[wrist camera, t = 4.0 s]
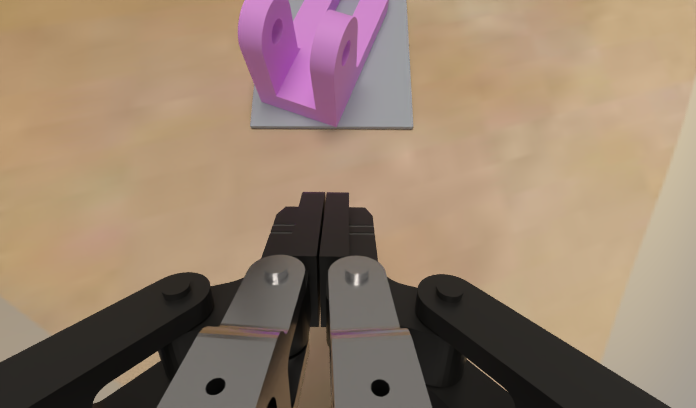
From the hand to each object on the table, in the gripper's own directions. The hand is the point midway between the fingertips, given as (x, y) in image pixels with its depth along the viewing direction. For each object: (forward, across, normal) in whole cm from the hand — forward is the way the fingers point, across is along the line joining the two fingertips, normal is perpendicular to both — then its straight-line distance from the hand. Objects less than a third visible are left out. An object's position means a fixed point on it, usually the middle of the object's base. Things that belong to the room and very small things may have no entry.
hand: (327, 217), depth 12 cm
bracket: (+19, 0, +4) cm, 19 cm away
